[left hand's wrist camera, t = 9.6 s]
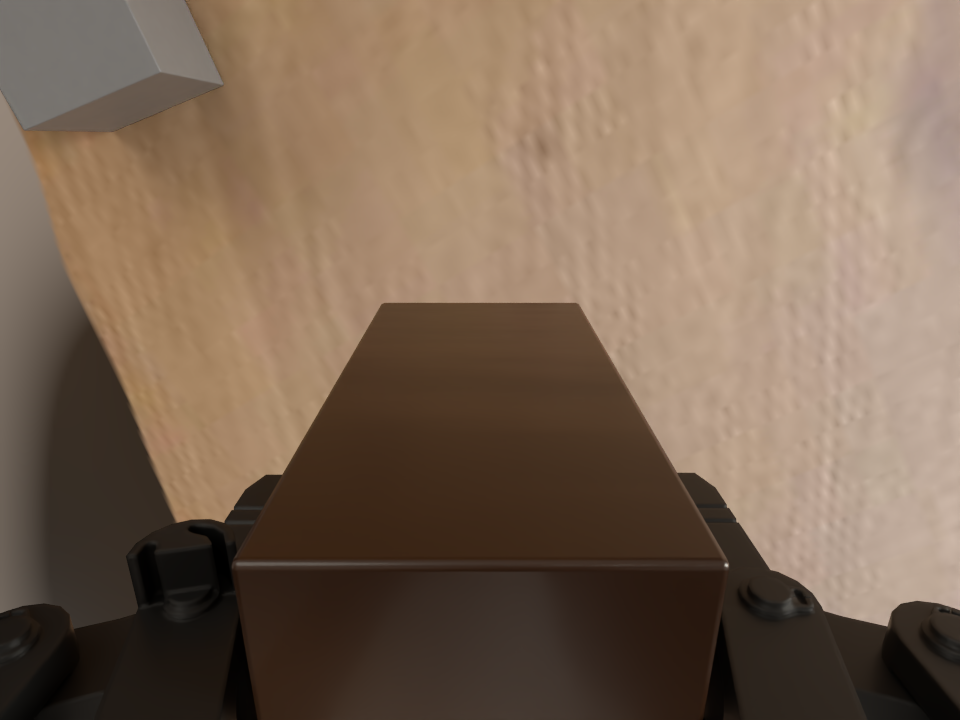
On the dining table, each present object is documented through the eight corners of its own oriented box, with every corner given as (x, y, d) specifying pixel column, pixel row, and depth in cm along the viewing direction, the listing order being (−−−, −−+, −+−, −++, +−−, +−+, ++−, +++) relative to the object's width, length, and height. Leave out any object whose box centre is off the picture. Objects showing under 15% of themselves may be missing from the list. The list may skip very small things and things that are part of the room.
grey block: (39, -4, 22) (-77, -41, 18) (158, -58, 22) (71, -111, 17) (112, 132, 24) (23, 130, 19) (224, 85, 24) (161, 71, 19)
